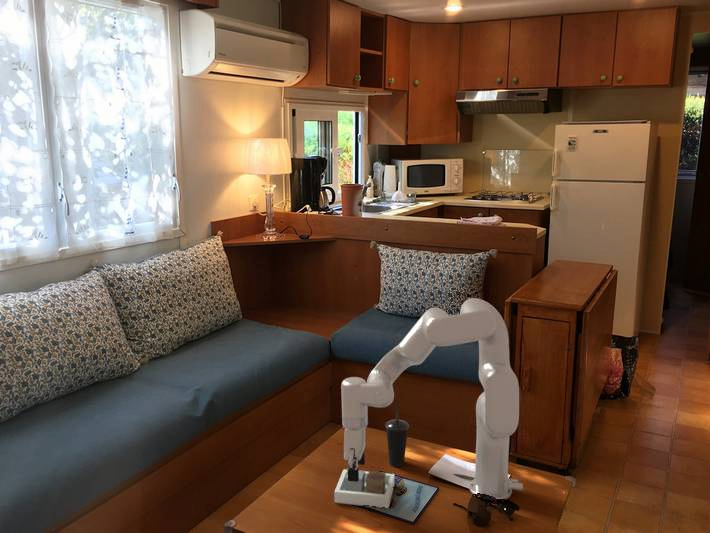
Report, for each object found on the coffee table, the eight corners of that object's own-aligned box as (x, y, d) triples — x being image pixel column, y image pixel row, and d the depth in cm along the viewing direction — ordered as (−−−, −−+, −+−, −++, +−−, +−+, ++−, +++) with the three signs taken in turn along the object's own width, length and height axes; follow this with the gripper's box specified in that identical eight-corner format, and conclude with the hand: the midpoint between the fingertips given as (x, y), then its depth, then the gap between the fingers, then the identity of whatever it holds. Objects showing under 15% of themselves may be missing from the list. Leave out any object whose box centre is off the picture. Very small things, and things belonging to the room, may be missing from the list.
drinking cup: (406, 470, 212) (407, 412, 208) (383, 467, 214) (383, 410, 210) (409, 458, 220) (410, 402, 215) (386, 456, 221) (387, 400, 217)
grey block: (348, 484, 203) (348, 469, 201) (364, 485, 202) (364, 470, 201) (345, 493, 198) (345, 477, 197) (361, 494, 197) (361, 479, 196)
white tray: (394, 484, 204) (394, 474, 203) (388, 508, 192) (388, 497, 191) (343, 479, 207) (343, 469, 206) (334, 502, 195) (334, 491, 194)
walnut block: (369, 486, 201) (369, 471, 200) (385, 487, 200) (385, 472, 199) (366, 494, 197) (366, 479, 196) (382, 496, 196) (382, 481, 195)
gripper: (348, 406, 204) (349, 457, 208) (336, 432, 187) (338, 486, 191) (372, 407, 202) (373, 458, 206) (362, 433, 186) (363, 488, 190)
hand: (356, 472), depth 199 cm, fingers open, 9 cm apart
